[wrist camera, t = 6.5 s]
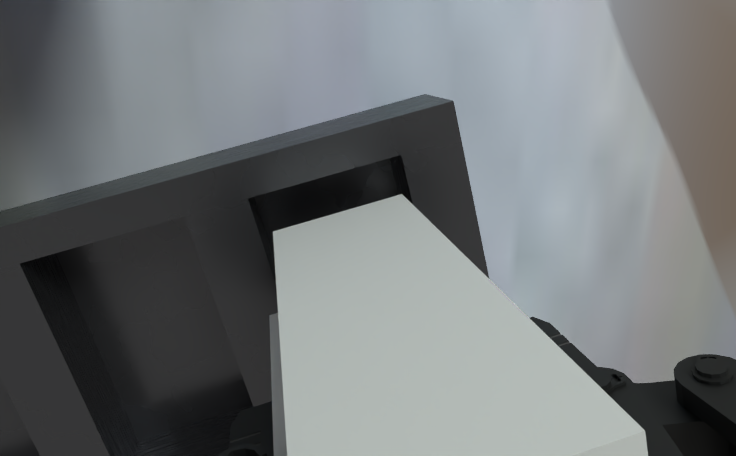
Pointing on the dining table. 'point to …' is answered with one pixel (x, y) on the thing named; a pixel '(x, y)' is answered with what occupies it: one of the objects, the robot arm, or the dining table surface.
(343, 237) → the pale grey rectangular block
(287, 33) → the dining table surface
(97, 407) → the rack
